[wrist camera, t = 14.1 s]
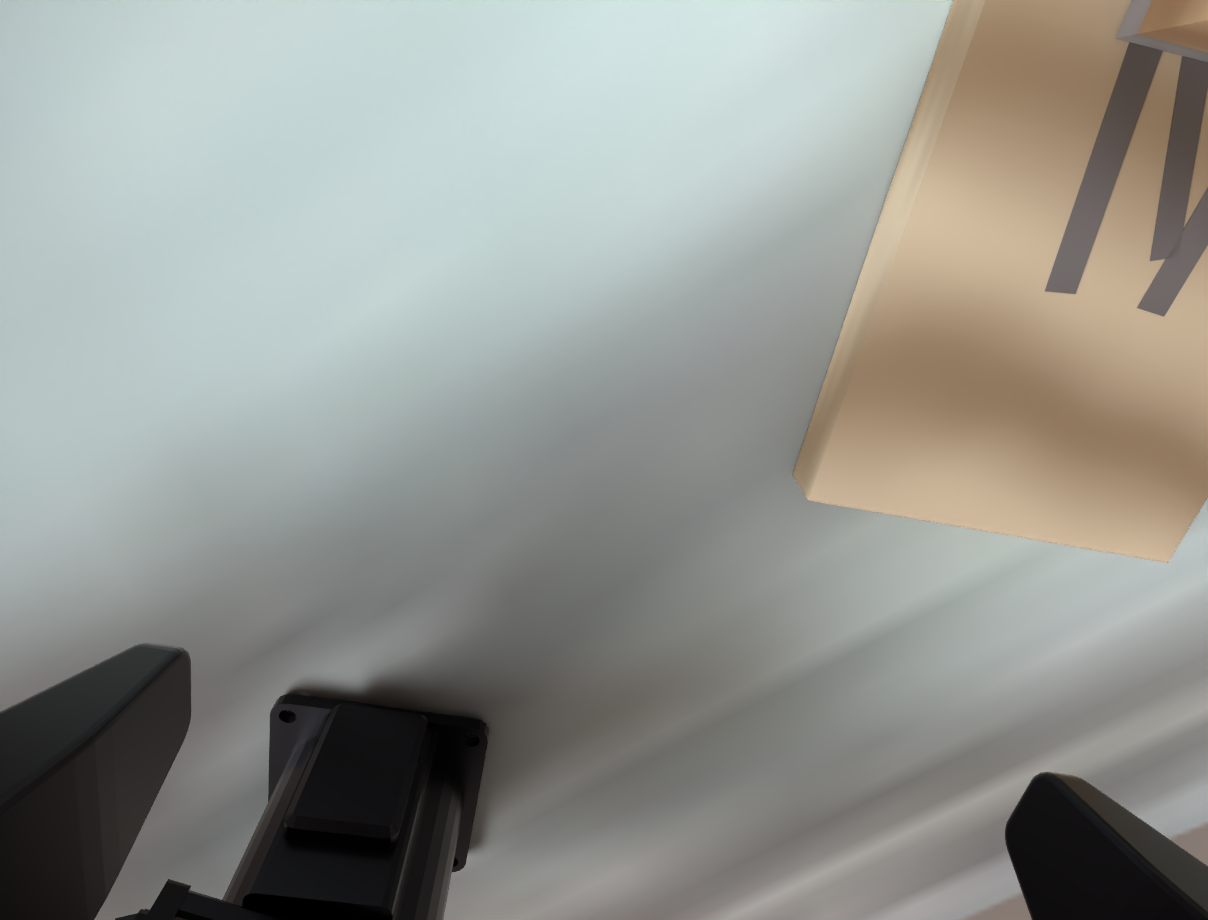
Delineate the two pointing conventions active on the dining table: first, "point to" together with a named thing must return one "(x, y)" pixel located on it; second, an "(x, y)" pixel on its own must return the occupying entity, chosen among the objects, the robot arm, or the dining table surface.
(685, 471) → the dining table surface
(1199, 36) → the block
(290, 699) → the robot arm
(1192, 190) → the board
